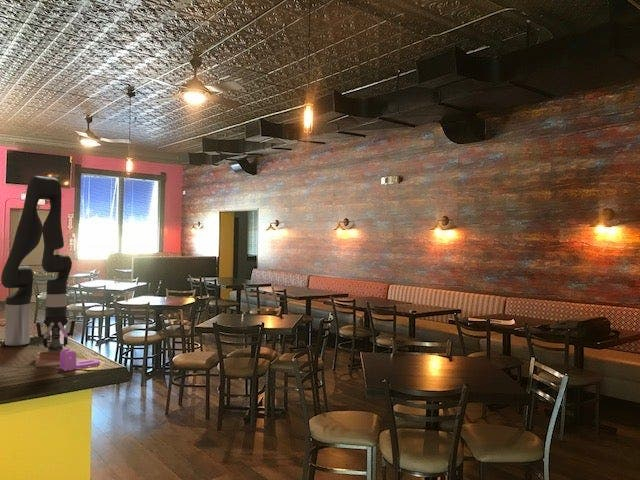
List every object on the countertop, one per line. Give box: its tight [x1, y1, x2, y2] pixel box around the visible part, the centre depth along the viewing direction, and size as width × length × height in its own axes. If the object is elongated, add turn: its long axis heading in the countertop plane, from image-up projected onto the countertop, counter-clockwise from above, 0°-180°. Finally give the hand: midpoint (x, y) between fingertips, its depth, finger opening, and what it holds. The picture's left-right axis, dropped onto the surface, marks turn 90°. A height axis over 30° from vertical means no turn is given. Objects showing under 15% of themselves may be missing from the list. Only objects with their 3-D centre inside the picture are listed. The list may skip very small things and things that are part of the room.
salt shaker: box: [47, 328, 64, 352], centre depth 203 cm, size 6×6×12 cm
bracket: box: [59, 347, 101, 372], centre depth 188 cm, size 13×6×7 cm, turn 135°
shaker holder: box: [35, 350, 61, 368], centre depth 192 cm, size 11×10×3 cm
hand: (55, 346), depth 203 cm, fingers closed on salt shaker, 6 cm apart
